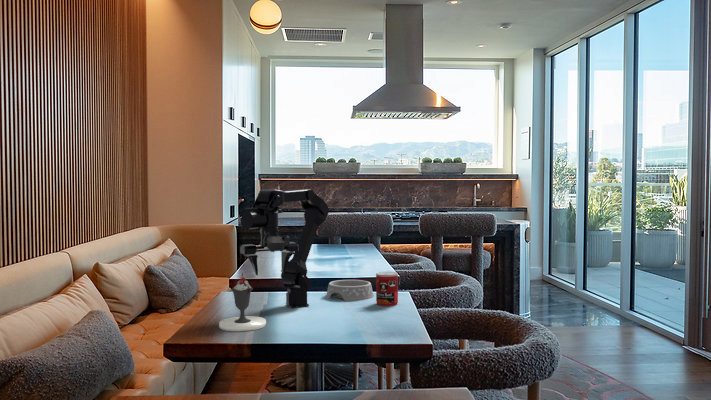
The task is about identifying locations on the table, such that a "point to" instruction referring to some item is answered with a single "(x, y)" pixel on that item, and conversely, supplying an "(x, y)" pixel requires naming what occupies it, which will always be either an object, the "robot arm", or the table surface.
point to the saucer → (242, 324)
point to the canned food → (387, 288)
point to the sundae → (242, 298)
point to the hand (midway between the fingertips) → (270, 274)
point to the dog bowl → (350, 290)
